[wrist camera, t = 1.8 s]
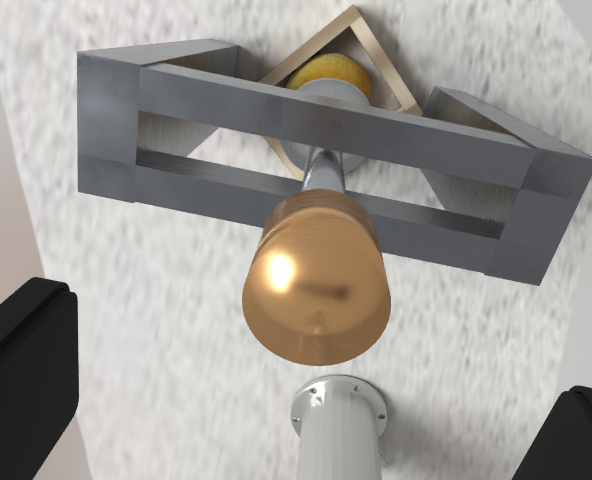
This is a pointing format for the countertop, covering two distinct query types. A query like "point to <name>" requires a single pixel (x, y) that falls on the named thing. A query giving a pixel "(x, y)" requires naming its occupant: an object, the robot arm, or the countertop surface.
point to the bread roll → (331, 72)
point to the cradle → (320, 40)
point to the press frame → (334, 136)
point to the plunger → (319, 260)
